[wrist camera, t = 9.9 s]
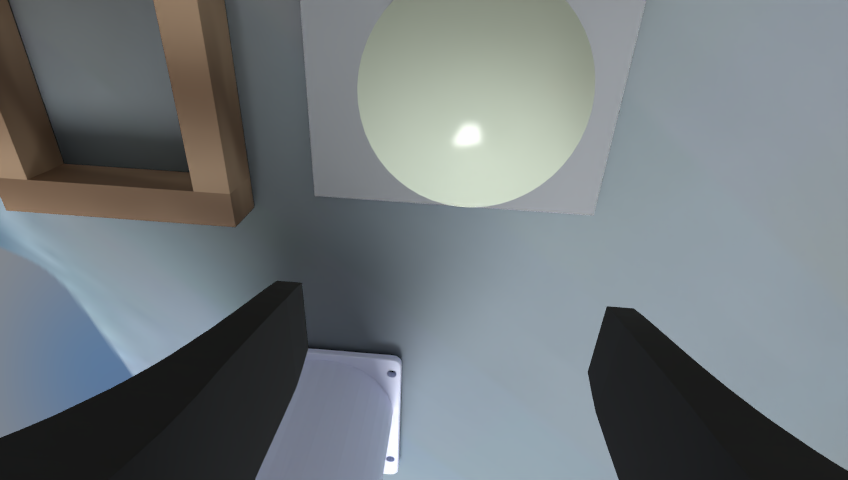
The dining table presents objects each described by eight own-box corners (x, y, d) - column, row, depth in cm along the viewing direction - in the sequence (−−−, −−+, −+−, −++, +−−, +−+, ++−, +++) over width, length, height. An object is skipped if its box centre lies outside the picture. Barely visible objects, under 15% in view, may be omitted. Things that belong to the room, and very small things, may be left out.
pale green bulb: (523, 132, 18) (564, 218, 11) (395, 119, 18) (354, 196, 11) (550, -13, 16) (625, -25, 9) (404, -27, 16) (359, -50, 9)
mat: (590, 210, 20) (593, 215, 20) (317, 191, 20) (314, 196, 20) (675, -142, 14) (682, -146, 14) (293, -157, 15) (287, -162, 14)
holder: (254, 207, 21) (235, 227, 19) (43, 192, 21) (6, 210, 20) (217, -51, 16) (187, -56, 14) (-54, -64, 17) (-115, -70, 15)
